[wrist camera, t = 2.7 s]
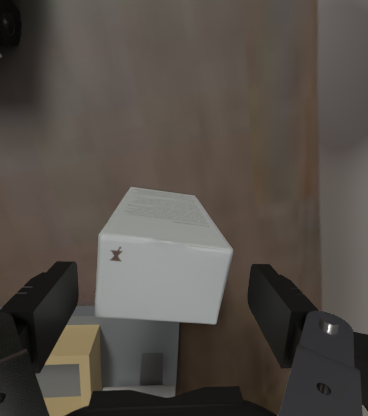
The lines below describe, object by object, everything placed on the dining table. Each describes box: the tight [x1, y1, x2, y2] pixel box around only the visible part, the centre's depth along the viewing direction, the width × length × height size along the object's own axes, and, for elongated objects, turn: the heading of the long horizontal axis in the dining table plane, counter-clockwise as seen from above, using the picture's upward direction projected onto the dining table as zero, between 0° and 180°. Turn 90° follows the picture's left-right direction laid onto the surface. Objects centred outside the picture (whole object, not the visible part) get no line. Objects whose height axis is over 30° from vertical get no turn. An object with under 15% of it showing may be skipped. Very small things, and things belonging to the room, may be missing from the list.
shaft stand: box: [0, 306, 179, 416], centre depth 22 cm, size 24×11×6 cm, turn 87°
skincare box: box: [94, 187, 233, 325], centre depth 17 cm, size 6×4×12 cm
